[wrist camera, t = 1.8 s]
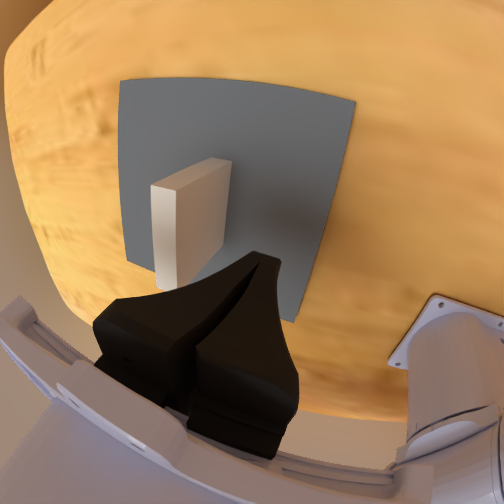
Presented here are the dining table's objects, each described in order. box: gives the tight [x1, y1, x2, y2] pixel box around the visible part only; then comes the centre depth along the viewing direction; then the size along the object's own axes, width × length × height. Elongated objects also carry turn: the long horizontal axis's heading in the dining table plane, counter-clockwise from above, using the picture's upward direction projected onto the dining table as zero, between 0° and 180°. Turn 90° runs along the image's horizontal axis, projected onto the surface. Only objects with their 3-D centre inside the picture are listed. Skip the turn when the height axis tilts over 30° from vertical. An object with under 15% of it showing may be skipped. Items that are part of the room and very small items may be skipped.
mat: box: [118, 78, 356, 323], centre depth 18 cm, size 16×16×1 cm
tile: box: [151, 157, 232, 291], centre depth 15 cm, size 2×6×6 cm, turn 171°
